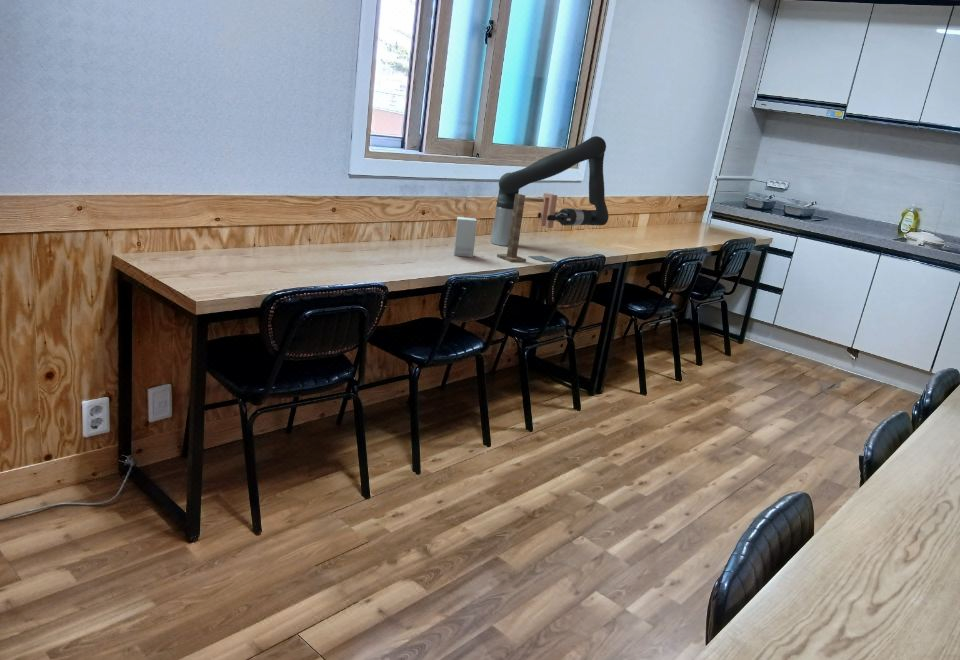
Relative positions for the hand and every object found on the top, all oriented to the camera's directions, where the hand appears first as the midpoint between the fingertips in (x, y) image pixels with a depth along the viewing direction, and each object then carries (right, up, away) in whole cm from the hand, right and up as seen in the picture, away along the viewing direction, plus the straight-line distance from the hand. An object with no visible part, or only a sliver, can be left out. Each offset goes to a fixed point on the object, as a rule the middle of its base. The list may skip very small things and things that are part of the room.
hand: (543, 216), depth 320 cm
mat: (0, -18, +6) cm, 19 cm away
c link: (+1, -4, +3) cm, 5 cm away
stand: (-10, -18, -1) cm, 21 cm away
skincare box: (-34, -18, -8) cm, 40 cm away
